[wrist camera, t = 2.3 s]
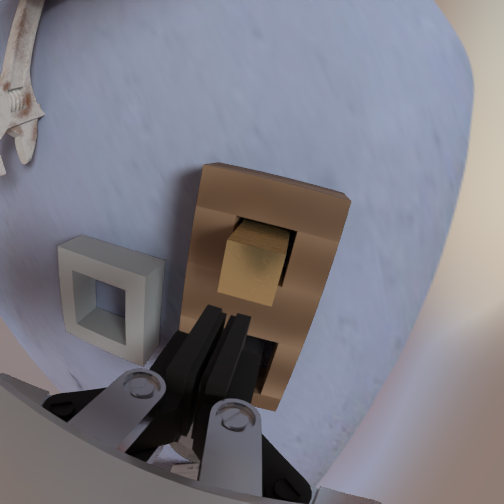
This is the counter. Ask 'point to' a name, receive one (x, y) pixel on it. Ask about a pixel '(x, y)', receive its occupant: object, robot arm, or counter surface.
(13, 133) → the wrench
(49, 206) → the counter surface
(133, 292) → the holder
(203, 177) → the socket block
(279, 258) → the tan square peg
